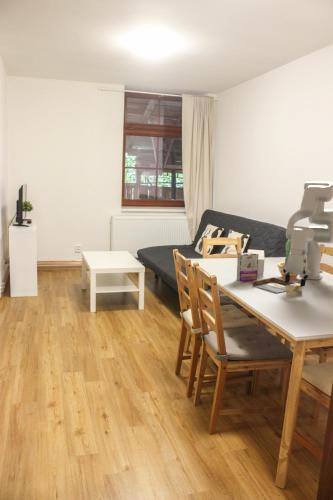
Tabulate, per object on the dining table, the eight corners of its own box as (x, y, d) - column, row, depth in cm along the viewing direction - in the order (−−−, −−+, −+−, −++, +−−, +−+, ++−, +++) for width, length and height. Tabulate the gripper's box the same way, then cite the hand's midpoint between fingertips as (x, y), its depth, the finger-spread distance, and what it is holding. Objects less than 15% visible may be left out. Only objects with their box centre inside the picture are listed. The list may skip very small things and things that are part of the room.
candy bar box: (253, 279, 257) (255, 252, 254) (257, 281, 253) (259, 253, 250) (235, 280, 254) (237, 252, 251) (239, 282, 250) (241, 254, 247)
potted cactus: (303, 282, 256) (307, 240, 251) (276, 279, 259) (280, 238, 254) (301, 275, 270) (304, 236, 266) (275, 273, 273) (278, 234, 269)
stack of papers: (246, 264, 299) (247, 249, 297) (262, 265, 297) (263, 250, 295) (245, 275, 268) (246, 258, 266) (263, 276, 266) (264, 259, 264)
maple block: (296, 292, 234) (296, 283, 233) (302, 294, 230) (302, 284, 229) (285, 294, 229) (286, 284, 228) (291, 296, 226) (292, 286, 225)
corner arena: (273, 282, 253) (273, 277, 252) (297, 289, 240) (298, 283, 239) (252, 286, 242) (252, 281, 242) (276, 293, 229) (277, 288, 228)
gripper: (316, 254, 221) (313, 287, 224) (288, 249, 234) (285, 280, 237) (307, 255, 216) (304, 288, 219) (279, 250, 230) (276, 281, 233)
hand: (294, 284), depth 228 cm, fingers open, 9 cm apart
